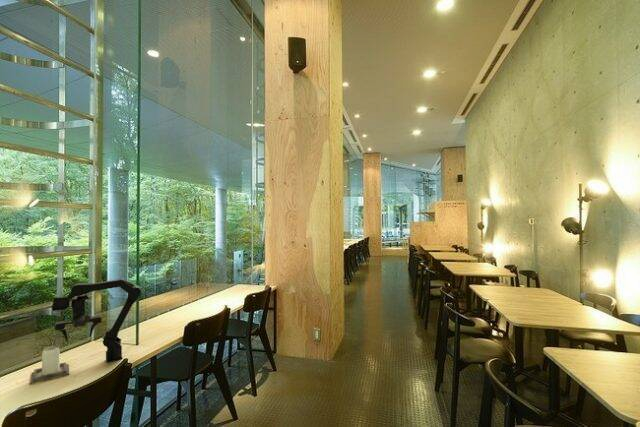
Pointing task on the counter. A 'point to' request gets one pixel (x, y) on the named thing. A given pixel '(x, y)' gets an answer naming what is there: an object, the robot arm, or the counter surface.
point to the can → (50, 360)
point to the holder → (38, 376)
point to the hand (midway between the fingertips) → (78, 339)
